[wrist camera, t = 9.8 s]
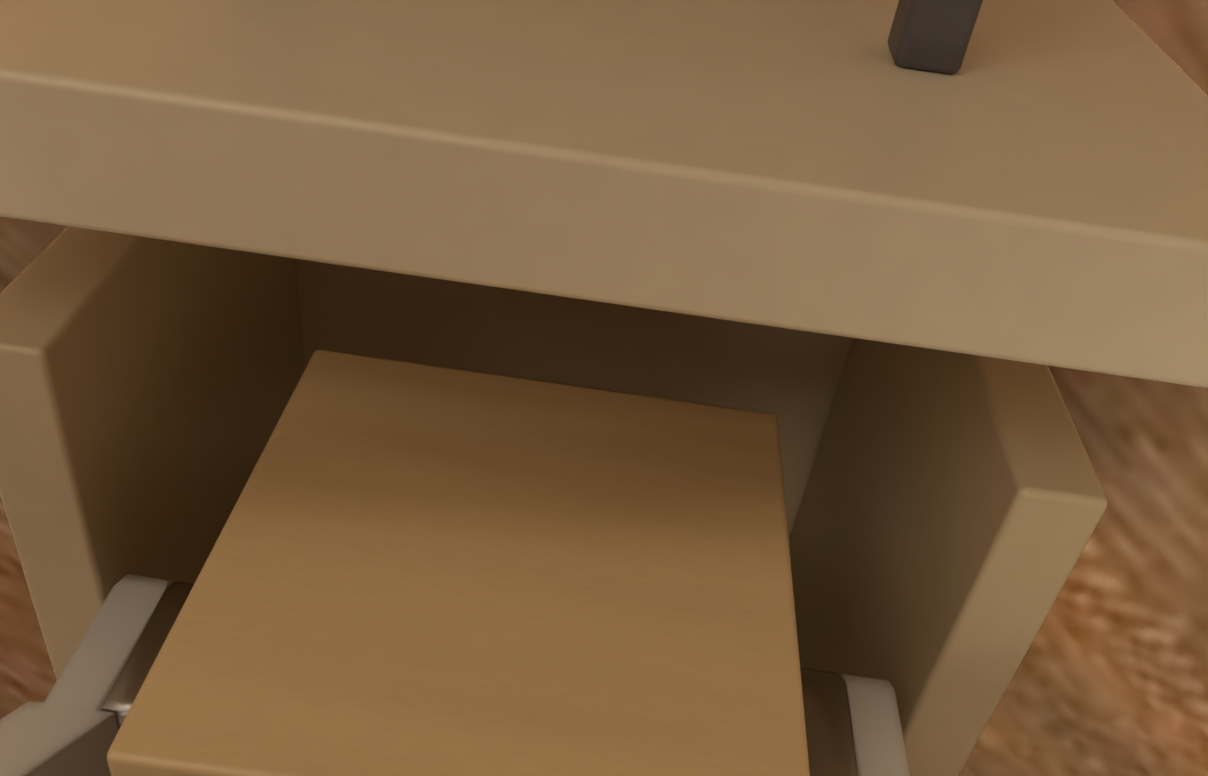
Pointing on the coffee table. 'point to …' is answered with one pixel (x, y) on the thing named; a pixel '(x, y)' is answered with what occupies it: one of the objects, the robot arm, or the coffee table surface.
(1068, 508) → the drawer
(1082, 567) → the coffee table surface
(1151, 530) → the coffee table surface
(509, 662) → the block
